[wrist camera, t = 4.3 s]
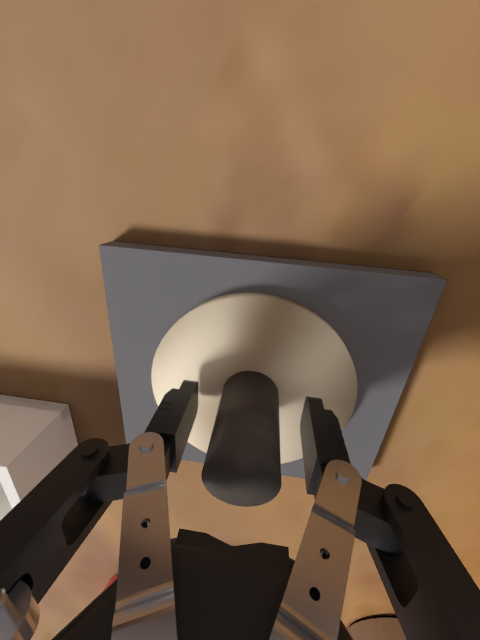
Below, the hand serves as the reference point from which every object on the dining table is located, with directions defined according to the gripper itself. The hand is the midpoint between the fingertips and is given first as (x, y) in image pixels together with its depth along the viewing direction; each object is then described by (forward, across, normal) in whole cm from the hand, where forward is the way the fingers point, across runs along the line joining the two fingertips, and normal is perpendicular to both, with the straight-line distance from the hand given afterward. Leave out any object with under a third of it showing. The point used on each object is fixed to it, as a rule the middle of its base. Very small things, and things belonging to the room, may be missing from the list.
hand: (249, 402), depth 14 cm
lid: (+1, 0, 0) cm, 1 cm away
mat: (+3, 0, 0) cm, 3 cm away
